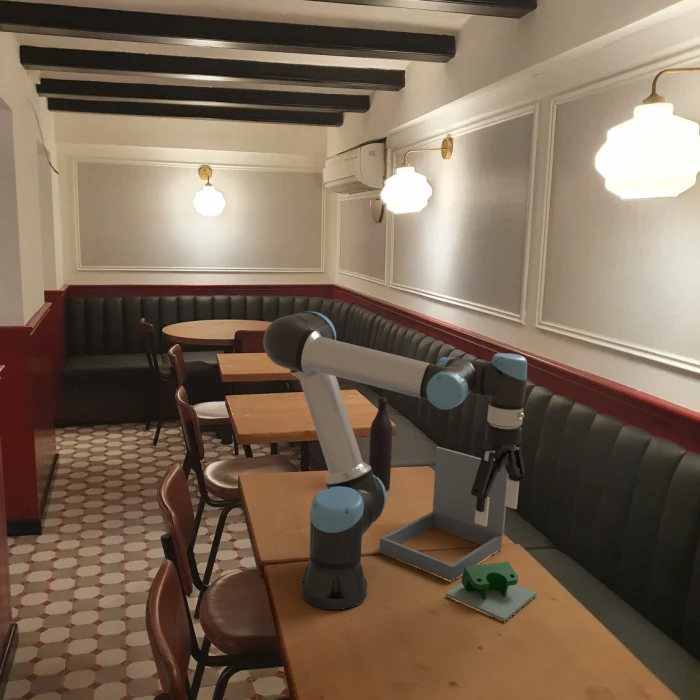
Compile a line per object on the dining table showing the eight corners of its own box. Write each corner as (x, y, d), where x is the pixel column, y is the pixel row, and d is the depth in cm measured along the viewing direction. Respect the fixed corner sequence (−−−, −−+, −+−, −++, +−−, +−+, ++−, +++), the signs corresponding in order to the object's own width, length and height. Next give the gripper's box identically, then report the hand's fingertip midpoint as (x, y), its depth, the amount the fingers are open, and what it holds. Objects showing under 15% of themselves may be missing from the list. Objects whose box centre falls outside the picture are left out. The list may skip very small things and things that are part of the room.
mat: (504, 623, 147) (505, 618, 147) (445, 597, 157) (445, 593, 157) (536, 596, 159) (536, 592, 159) (479, 574, 168) (479, 570, 168)
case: (451, 582, 164) (457, 491, 160) (379, 552, 178) (383, 467, 174) (502, 549, 182) (509, 466, 178) (433, 524, 196) (438, 446, 192)
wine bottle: (390, 485, 225) (394, 396, 220) (389, 493, 218) (393, 401, 213) (368, 483, 226) (372, 394, 220) (367, 491, 219) (370, 400, 213)
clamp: (476, 615, 156) (468, 588, 152) (465, 596, 161) (457, 569, 157) (523, 593, 157) (517, 566, 153) (511, 575, 163) (504, 548, 158)
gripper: (491, 439, 139) (482, 537, 143) (545, 417, 158) (536, 505, 162) (459, 431, 144) (451, 526, 148) (515, 411, 163) (507, 496, 166)
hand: (496, 515), depth 155 cm, fingers open, 13 cm apart
